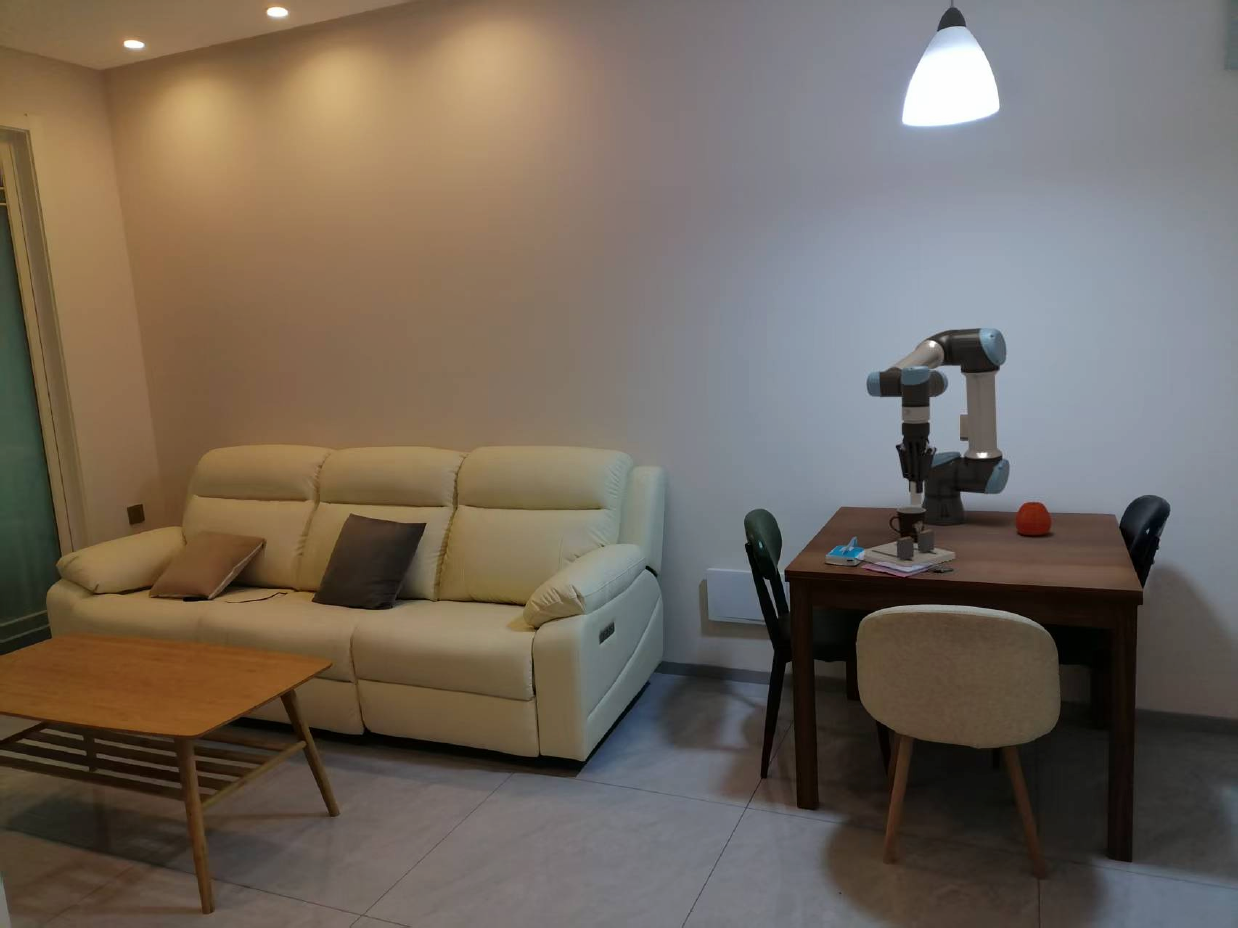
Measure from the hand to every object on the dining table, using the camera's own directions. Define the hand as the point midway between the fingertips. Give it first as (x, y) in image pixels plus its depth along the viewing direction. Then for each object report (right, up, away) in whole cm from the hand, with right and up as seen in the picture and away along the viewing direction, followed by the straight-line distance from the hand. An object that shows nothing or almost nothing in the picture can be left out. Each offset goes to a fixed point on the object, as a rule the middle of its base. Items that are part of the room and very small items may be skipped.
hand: (915, 504), depth 250 cm
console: (-1, -17, +9) cm, 19 cm away
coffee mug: (+7, -13, +28) cm, 31 cm away
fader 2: (+5, -14, +7) cm, 17 cm away
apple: (+46, -11, +26) cm, 54 cm away
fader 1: (-3, -15, +1) cm, 16 cm away
